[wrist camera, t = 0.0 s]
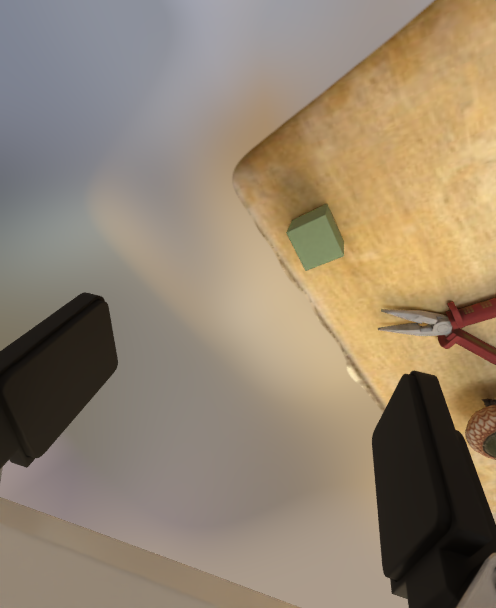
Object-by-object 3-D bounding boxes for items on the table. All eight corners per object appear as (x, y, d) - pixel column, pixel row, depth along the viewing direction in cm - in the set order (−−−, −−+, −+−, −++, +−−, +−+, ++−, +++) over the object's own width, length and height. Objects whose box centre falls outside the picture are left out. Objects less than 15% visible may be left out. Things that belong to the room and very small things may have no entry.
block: (309, 255, 40) (305, 271, 36) (291, 220, 38) (286, 232, 34) (343, 241, 38) (344, 256, 34) (327, 203, 36) (325, 214, 32)
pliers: (385, 275, 39) (387, 285, 37) (588, 283, 34) (604, 296, 32) (372, 348, 45) (374, 361, 43) (544, 364, 40) (555, 379, 38)
